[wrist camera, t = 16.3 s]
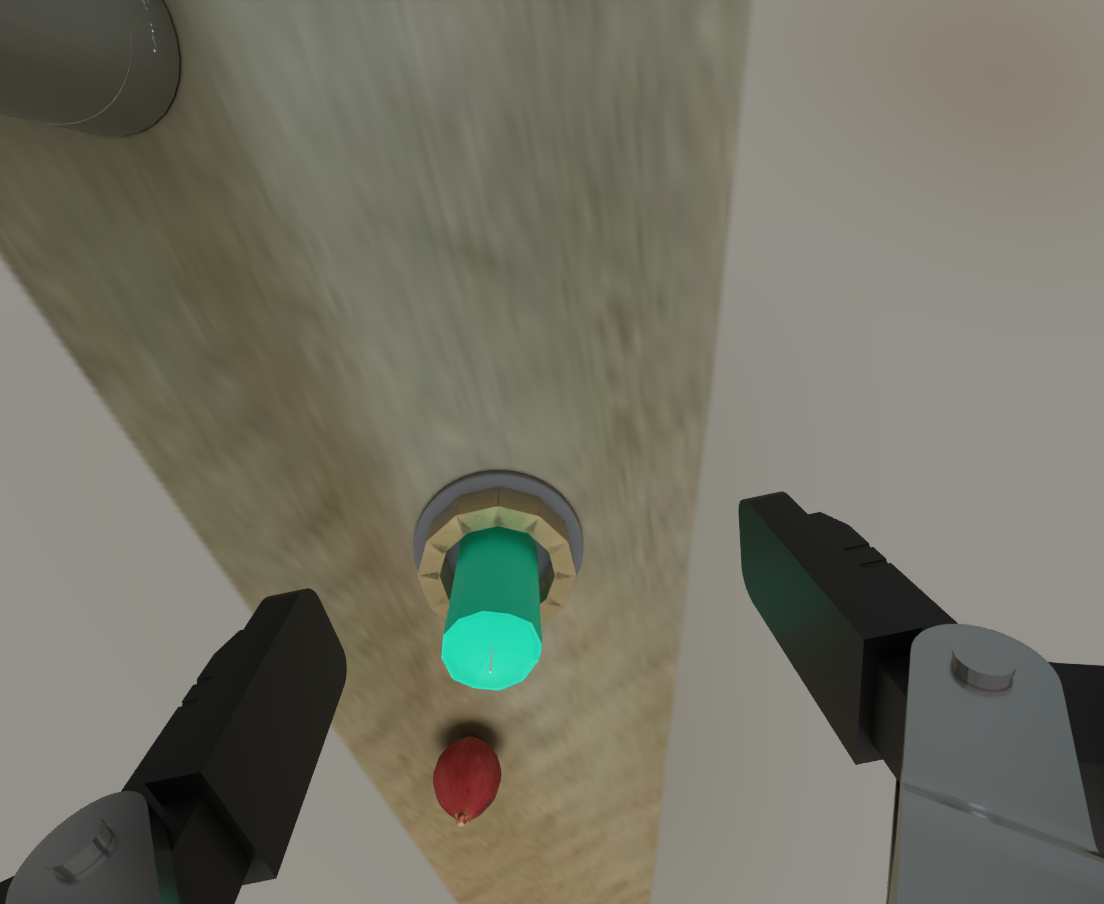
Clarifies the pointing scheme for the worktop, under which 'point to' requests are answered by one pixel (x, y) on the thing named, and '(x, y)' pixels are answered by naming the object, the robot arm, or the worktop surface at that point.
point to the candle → (494, 610)
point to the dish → (508, 481)
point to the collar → (509, 513)
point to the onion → (467, 778)
